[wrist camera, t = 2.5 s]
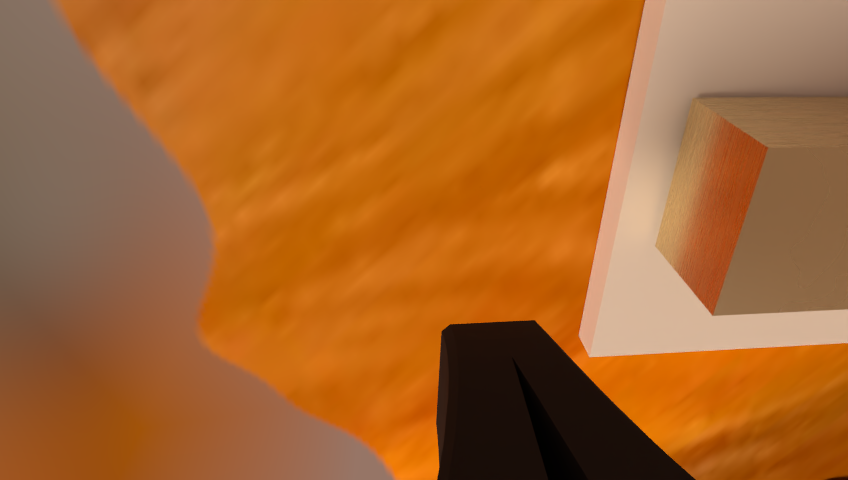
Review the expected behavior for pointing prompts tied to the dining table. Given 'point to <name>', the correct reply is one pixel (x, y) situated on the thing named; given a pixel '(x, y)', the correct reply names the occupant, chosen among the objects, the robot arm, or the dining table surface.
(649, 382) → the dining table surface
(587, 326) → the door panel
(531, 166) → the dining table surface
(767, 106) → the block
